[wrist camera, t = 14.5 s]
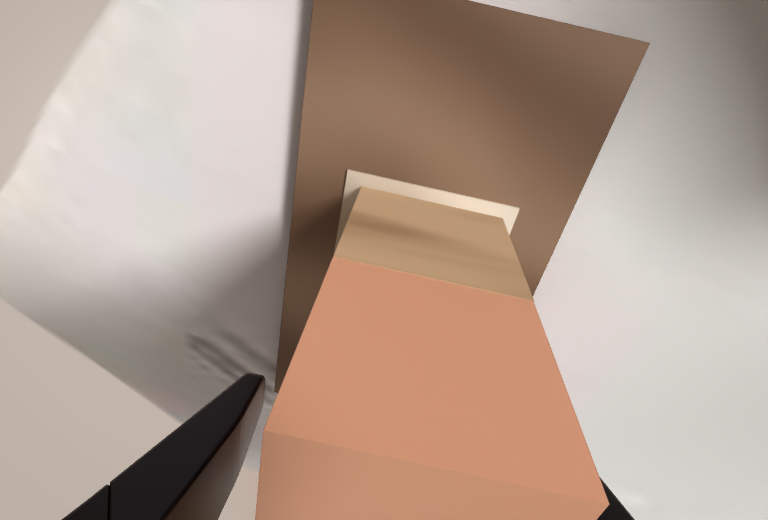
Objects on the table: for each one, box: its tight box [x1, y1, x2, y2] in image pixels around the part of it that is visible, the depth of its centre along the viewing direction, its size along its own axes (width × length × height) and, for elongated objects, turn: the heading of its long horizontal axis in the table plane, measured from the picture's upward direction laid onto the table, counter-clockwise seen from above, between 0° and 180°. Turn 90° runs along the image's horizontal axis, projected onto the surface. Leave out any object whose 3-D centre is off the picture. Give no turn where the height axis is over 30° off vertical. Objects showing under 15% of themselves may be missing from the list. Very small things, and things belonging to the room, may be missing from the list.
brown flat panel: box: [274, 0, 650, 393], centre depth 16 cm, size 17×10×1 cm, turn 169°
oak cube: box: [333, 186, 534, 302], centre depth 14 cm, size 5×5×5 cm
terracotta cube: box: [255, 257, 609, 520], centre depth 9 cm, size 5×5×5 cm
